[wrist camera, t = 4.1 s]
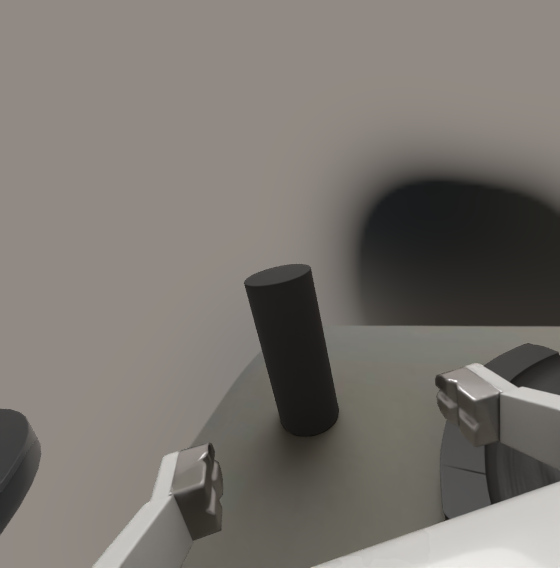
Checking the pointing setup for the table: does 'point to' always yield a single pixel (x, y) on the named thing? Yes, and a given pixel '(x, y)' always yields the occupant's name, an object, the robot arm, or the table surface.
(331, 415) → the dark cylindrical post
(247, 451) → the table surface
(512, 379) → the dark sector wedge
